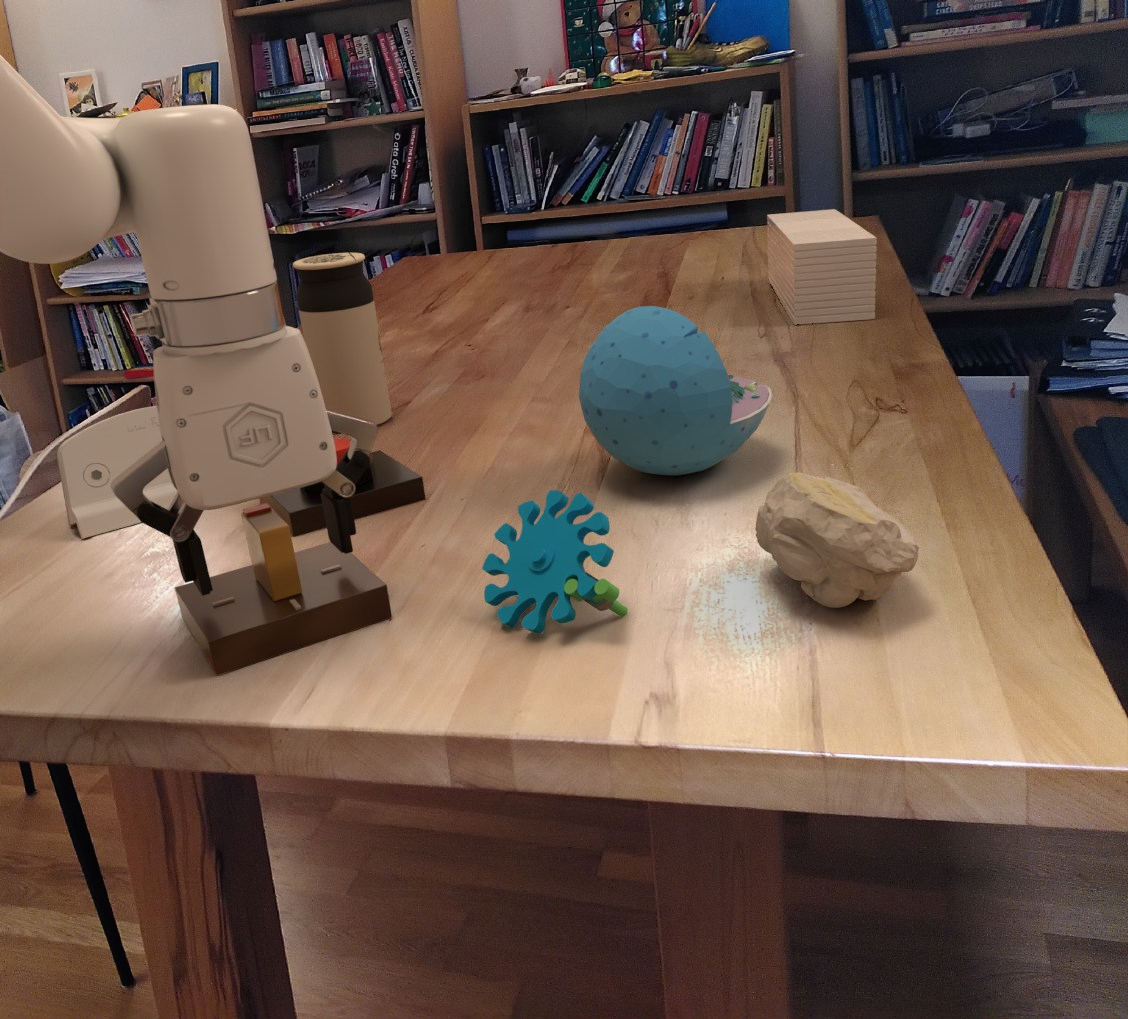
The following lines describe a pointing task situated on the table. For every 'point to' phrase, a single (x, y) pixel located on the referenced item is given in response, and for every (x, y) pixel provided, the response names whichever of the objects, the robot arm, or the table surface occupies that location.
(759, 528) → the beige rock
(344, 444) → the button
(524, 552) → the gear
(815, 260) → the grooved wooden block
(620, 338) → the educational model
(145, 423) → the hinge
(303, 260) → the travel mug
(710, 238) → the table surface
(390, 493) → the alarm box
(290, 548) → the yellow block
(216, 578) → the plate
